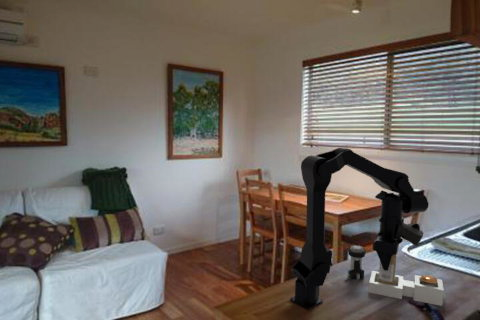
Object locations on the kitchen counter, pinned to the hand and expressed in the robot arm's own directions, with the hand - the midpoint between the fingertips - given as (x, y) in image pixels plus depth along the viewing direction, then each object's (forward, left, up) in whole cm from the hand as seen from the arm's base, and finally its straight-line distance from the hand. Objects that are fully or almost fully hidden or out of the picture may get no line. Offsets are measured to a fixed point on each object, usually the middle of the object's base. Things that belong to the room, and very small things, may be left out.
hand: (387, 266), depth 108 cm
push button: (-1, +10, -7) cm, 12 cm away
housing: (+2, -5, -7) cm, 9 cm away
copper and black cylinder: (+5, -10, -7) cm, 13 cm away
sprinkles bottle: (0, 0, -7) cm, 7 cm away
